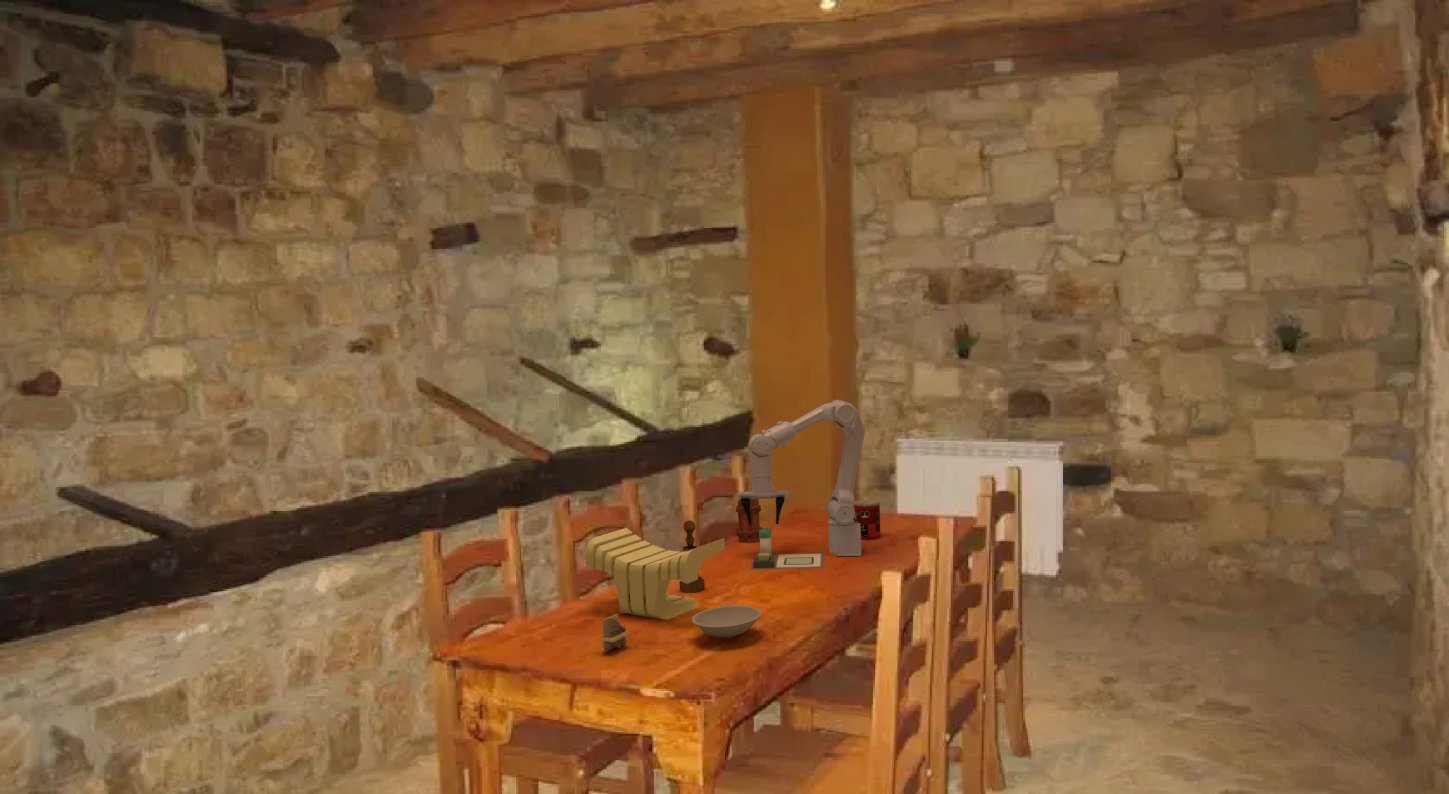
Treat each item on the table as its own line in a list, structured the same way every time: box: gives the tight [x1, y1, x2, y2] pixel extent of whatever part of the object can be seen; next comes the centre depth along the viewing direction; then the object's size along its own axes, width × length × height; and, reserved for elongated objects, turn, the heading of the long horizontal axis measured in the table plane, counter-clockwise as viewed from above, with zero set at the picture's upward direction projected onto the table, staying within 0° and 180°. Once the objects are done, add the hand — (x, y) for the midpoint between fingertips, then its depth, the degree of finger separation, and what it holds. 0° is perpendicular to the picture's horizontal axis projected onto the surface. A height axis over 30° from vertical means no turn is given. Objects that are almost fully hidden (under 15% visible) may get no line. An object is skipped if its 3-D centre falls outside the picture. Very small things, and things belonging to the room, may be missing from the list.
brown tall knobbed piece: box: [678, 520, 705, 594], centre depth 296 cm, size 7×6×18 cm
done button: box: [757, 552, 770, 561], centre depth 316 cm, size 3×3×2 cm
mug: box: [735, 489, 763, 544], centre depth 352 cm, size 15×8×15 cm, turn 179°
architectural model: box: [600, 613, 632, 653], centre depth 248 cm, size 3×7×7 cm, turn 150°
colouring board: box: [750, 552, 825, 571], centre depth 320 cm, size 20×18×3 cm
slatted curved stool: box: [585, 527, 726, 620], centre depth 277 cm, size 30×16×18 cm, turn 56°
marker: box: [759, 527, 773, 557], centre depth 326 cm, size 3×3×8 cm
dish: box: [691, 604, 763, 639], centre depth 254 cm, size 18×14×5 cm
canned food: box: [853, 499, 881, 541], centre depth 350 cm, size 8×8×11 cm
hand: (763, 524), depth 326 cm, fingers open, 7 cm apart
